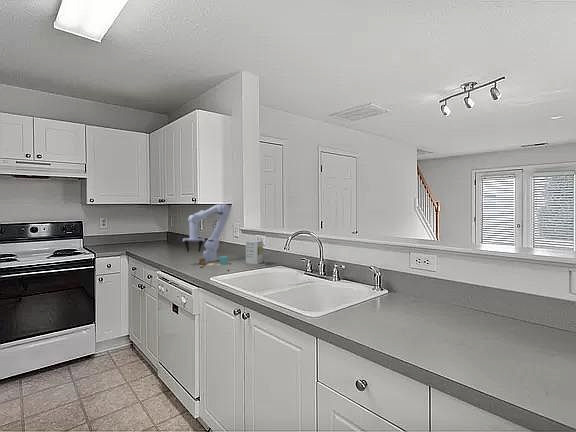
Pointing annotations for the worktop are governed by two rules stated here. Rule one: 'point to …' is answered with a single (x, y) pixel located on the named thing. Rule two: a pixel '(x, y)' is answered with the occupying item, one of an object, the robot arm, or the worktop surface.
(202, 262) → the wooden board with block
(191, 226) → the robot arm
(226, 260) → the cube
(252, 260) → the supplement box
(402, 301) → the worktop surface
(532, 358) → the worktop surface
